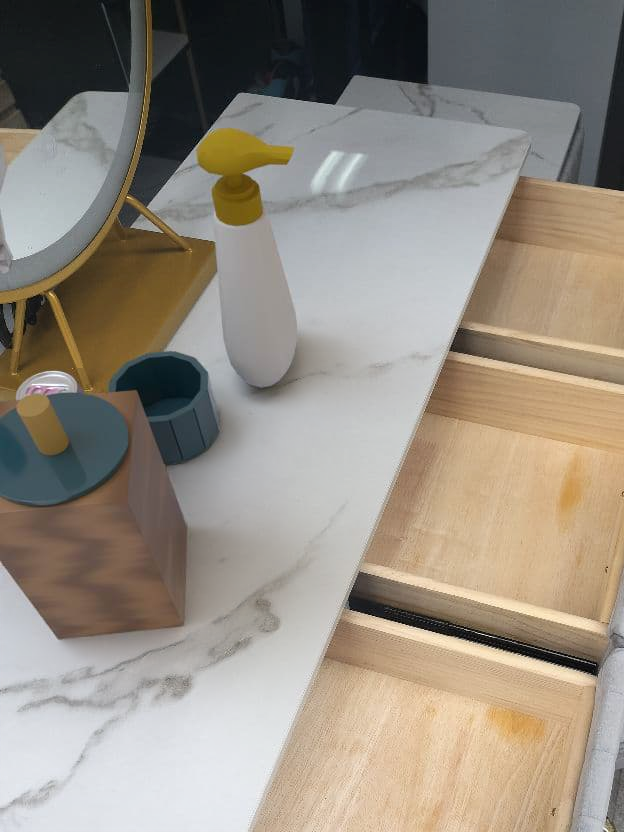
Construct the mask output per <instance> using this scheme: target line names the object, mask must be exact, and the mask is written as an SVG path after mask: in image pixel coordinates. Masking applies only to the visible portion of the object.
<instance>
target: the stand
mask: <svg viewBox="0 0 624 832" xmlns="http://www.w3.org/2000/svg"><path fill="white" fill-rule="evenodd" d="M89 394H90V395H93V396H97V397H99V398H102V399H104V400H106V401H107V402H109V403H111V404H112V405H113V406H114V407H116V408H117V409H118V411H119V412H120V413H121V414H122V416H123V418H124V419H125V422H126V424H127V427H128V430H129V447H128V451H127V454H126V457H125V459H124V461H123V463H122V465H121V466H120V467H119V469H118V470H117V471H116V473H115V474H114V475H113V476H112V477H111V478H110V479H109V480H108V481H107V482H105V483H104V484H103V485H102V486H100V487H99V488H97V489H96V490H94V491H92V492H91V493H89V494H87V495H85V496H83V497H81V498H78V499H76V500H73V501H70V502H67V503H63V504H59V505H52V506H40V507H35V506H25V505H19V504H16V503H12V502H9V501H7V500H5V499H3V498H1V497H0V563H1V565H2V566H3V567H4V568H5V570H6V571H7V573H8V574H9V576H10V577H11V578H12V579H13V581H14V582H15V584H16V585H17V587H18V588H19V589H20V590H21V592H23V594H24V596H25V597H26V598H27V600H28V601H29V603H30V604H31V605H32V606H33V608H34V609H35V611H36V612H37V613H38V615H39V616H40V617H41V619H42V620H43V621H44V623H45V624H46V625H47V627H48V628H49V629H50V631H51V632H52V633H53V634H54V636H55V637H56V639H58V640H61V639H70V638H78V637H79V638H80V637H88V636H89V637H90V636H97V635H108V634H117V633H128V632H136V631H137V632H138V631H146V630H147V631H148V630H156V629H166V628H174V627H175V628H176V627H183V626H184V625H185V599H186V576H187V575H186V574H187V573H186V572H187V570H186V569H187V547H188V546H187V544H188V543H187V541H188V524H187V521H186V519H185V516H184V514H183V511H182V508H181V506H180V503H179V500H178V497H177V495H176V492H175V490H174V487H173V484H172V481H171V479H170V476H169V474H168V473H169V472H168V471H167V468H166V465H164V463H163V460H162V457H161V455H160V452H159V449H158V446H157V444H156V441H155V438H154V436H153V433H152V430H151V428H150V425H149V422H148V420H147V417H146V414H145V411H144V409H143V406H142V403H141V401H140V398H139V395H138V393H137V390H133V391H121V392H109V393H108V392H98V393H89ZM19 401H20V400H16V399H14V400H13V399H12V400H3V401H2V400H1V401H0V418H1V417H3V416H4V415H5V414H6V413H8V412H9V411H11V410H12V409H14V408H16V407H17V404H18V402H19Z"/></svg>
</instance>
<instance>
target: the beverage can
mask: <svg viewBox="0 0 624 832" xmlns="http://www.w3.org/2000/svg"><path fill="white" fill-rule="evenodd" d="M67 392H74V393H84V390H83V389H82V387H81V386H80V384H78V382H77V381H76V378H74V377H73V376H72V375H71V374H69V373H67V372H64V371H62V370H61V371H60V370H46V371H42V372H39V373H36V374H33V375H32V376H30V377H28V378H26V380H24V381H23V382H22V383H21V384H20V385H19V387H18V388H17V391H16V394H15V400H21V399H22V398H24V397H25V396H27V395H30V394H43V395H50V394H56V393H67Z"/></svg>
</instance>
